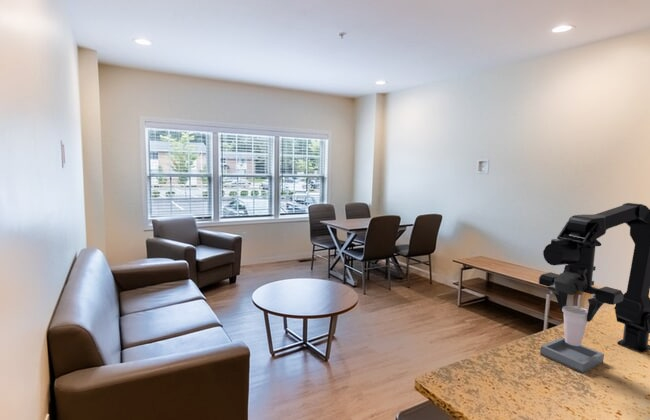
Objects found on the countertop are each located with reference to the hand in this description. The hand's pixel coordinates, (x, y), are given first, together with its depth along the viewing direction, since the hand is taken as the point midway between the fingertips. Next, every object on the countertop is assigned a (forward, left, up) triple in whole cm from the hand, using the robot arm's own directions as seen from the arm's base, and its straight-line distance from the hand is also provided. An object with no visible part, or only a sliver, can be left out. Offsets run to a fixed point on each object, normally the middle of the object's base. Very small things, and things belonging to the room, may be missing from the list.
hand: (575, 316), depth 101 cm
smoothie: (0, 0, -8) cm, 8 cm away
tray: (0, 0, -12) cm, 12 cm away
